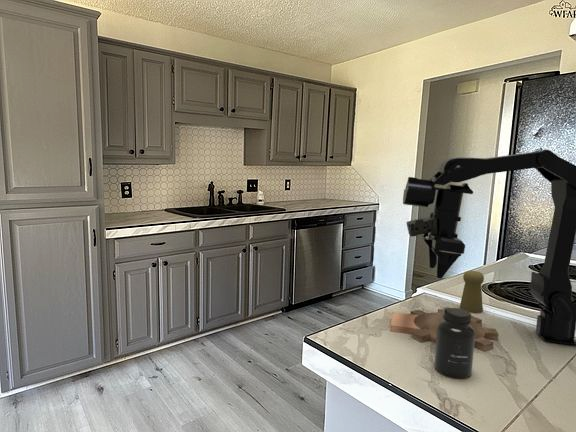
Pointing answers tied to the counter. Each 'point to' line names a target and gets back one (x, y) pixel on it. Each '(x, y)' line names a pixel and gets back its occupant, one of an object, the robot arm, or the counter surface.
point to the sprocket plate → (426, 326)
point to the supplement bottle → (455, 344)
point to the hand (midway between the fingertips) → (435, 272)
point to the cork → (472, 292)
